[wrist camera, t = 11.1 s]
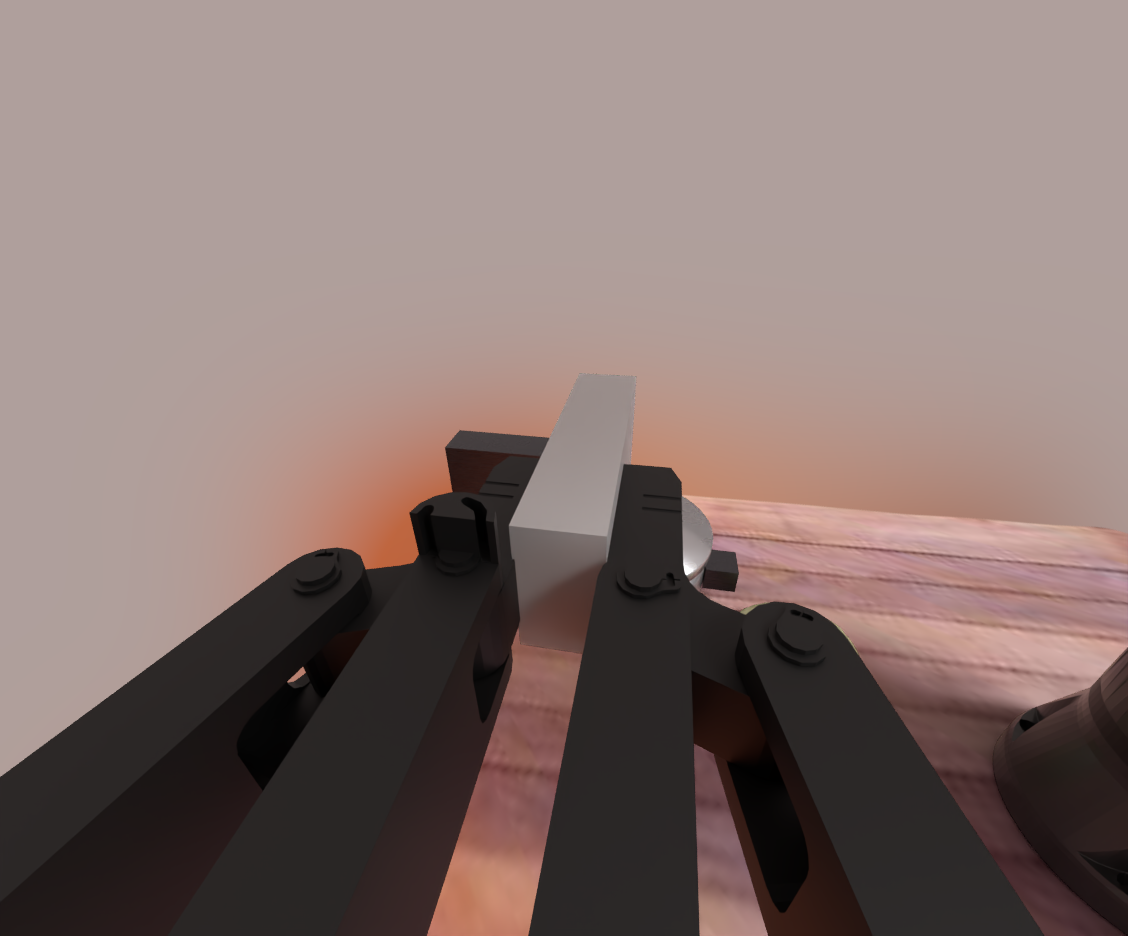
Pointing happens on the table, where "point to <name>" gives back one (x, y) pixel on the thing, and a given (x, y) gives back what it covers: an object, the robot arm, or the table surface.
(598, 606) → the robot arm
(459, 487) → the lid
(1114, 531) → the table surface
